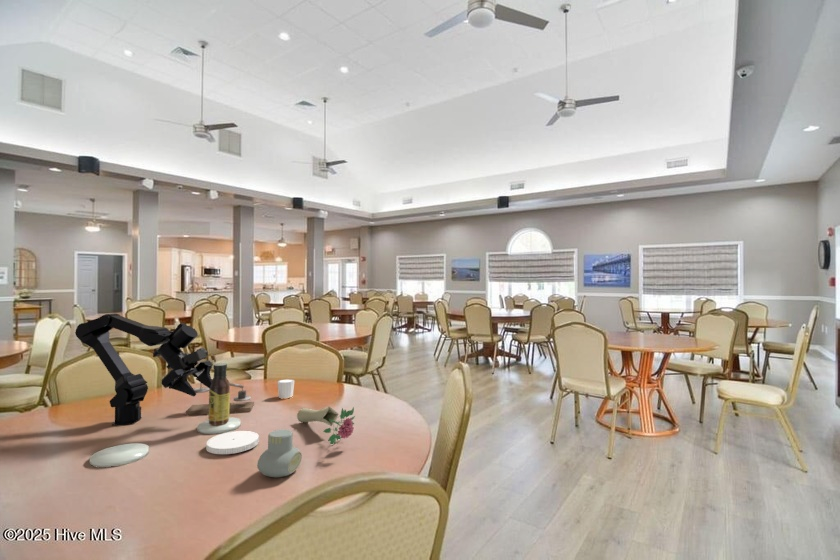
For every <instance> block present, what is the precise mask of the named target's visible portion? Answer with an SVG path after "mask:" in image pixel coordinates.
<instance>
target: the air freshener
mask: <svg viewBox="0 0 840 560" xmlns="http://www.w3.org/2000/svg"><path fill="white" fill-rule="evenodd" d="M293 439H294V438H293V431H292V430H290V429H287V428H285V429H283V428H282V429H276V430H273V431H271V432H270V433H269V434H268V437H267V449H266V450H264V451H263V452H262V453H261V454H260V456H259V458H258V460H257V462H256V463H257V464H256V466H257V469H258V471H259V472H260V474H262V475H264V476H266V477H270V478H282V477H283V478H284V477H286V476H290V475H291V474H292V473H294V472H295V471H297V469H298V468H299V466H300V464H301V462H302V458H303V457H302V456H303V454H302V452H301V451H300V450H299V448H297V447H295V446H293V445H294V444H293V443H294V442H293ZM289 474H290V475H289Z"/></svg>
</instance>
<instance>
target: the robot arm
mask: <svg viewBox="0 0 840 560" xmlns="http://www.w3.org/2000/svg"><path fill="white" fill-rule="evenodd" d="M113 329H116V330H118V331H122V332H124V333H126V334H129V335H132V336H135V337H136V338H138V340H139V341H140V342H141V343H143V345H144V344H145V345H146V346H148V347H155V346H159V347H157V348H154V349H153V354H152V357H153V358H157V357H161V358H162V359H163V360H164V362H165V363H166V364H167V365H166V366H165V367H166V368H167V369H168V370H169V369H171V370H170V371H169V372H167V374H166V375H165V376H164V377H163V378H162V379H161V386H163V387H164V389H166V388H168V389H170V390H171V389H172V390H175V391H178V392H181V393H182V394H183V393H184V394H187V395H189V396H191V397H196V395H197V393H196V392H195V391H194V389H195V388H193V387H192V385H191V384H190V382H189V381H188V376H191V375H192V377H194V378H195V380H197V381H198V382H199V383H200V384H201V385H204V386H206V387H208V388H210V385H211V383H212V379H213V378H212V377H211V370H212V369H213V367H214V364H213V362H211V360H206V359H207V358H208V357H207V356H208V354H209V351H208V350H206V349H205V348H204V347H200V348H198V349H196V351H192V352H191V353H189V352H186V353H184V351H183V350H182V349H186V348H187V347H188V346H189V345H190V344H191V343H192V342H193V341H194V340H195V339H196V338H197V337H198V331H197V330H196V329H195V328H193V327H192V326H190V325H187V324H186V323H185V322H181V323H179V324H178V325H177V326H176V328H175V329H174V330H173V331H171V330H170V329H169V328H167V327H163V326H157V325H147V324H143V323H141V322H138V321H136V320H133V319H130V318H128V317H126V316H125V317H124V316H122V315H120V314H118V313H106V314H103V315H101V316H99V317H97V318H95V319H90V320H89V321H87V322H82V323H79V324H78V325H77V326H76V329H75V331H74V333H75V336H76V337H77V339H78V340H79V341H80V342H81V343H82V344H83V345H86V346H88V347H90V348H91V349H93V351H94V352H95V354H96V355H97V356H98V358H99V360H101V362H102V364H103V366H104V367H105V368H106V370H107V371H108V373H109V374H110V376H111V377H112V379H113V381H114V382H115V383H114V391H115V393H116V394H115V395H114V396H113V397H112V398H111V399H110V400H109V404H110V407H111V408H114V422H112V423H111V425H112V426H122V425H124V426H125V425H133V424H136V423H137V422H139V420H141V419H142V406H141V405H140V404H141V402H143V401H144V399H145V397H146V395H147V393H148V390H149V386H148V384H147V383H148V381H146V380H145V379H144V376H143V375H142V374H141V373H138V374H134V373H132V371H131V370H130V369H129V368H128V366H127V365H126V363H125V362H124V360H123V358H121V356H120V355H119V353H118V352H117V350H116V349H115V347H114V346H113V344H112V343H111V341H110V334H111V333H110V331H112V330H113ZM202 360H204V361H202Z"/></svg>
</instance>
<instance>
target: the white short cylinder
mask: <svg viewBox="0 0 840 560" xmlns="http://www.w3.org/2000/svg"><path fill="white" fill-rule="evenodd" d="M294 387H295V379H291V378H288V379H285V378H284V379H280V380H278V381H277V390H278V399H279V398H289V397H292V396H293V397H294ZM293 397H292V398H293Z"/></svg>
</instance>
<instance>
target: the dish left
mask: <svg viewBox="0 0 840 560" xmlns="http://www.w3.org/2000/svg"><path fill="white" fill-rule="evenodd" d="M149 452H150V446H149V445H148V444H145V443H140V442H139V443H137V442H136V443H124V444H118V445H115V446H114V445H113V446H111V447H106V448H104V449H101V450H99V451H96V452H95V453H93V454H92V455H91V456H90V457H89V465H90V464H91V465H93V466H97V467H96V468H99V467H106V468H112V467H111V466H115V467H118V466H117V465H121V466H124V465H123V464H125V465H128V463H129V464H131V463H135V462H137V461H139V460H142V459H143V458H145V457H147V456H148V454H149ZM91 465H90V466H91ZM93 466H92V467H93Z"/></svg>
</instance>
